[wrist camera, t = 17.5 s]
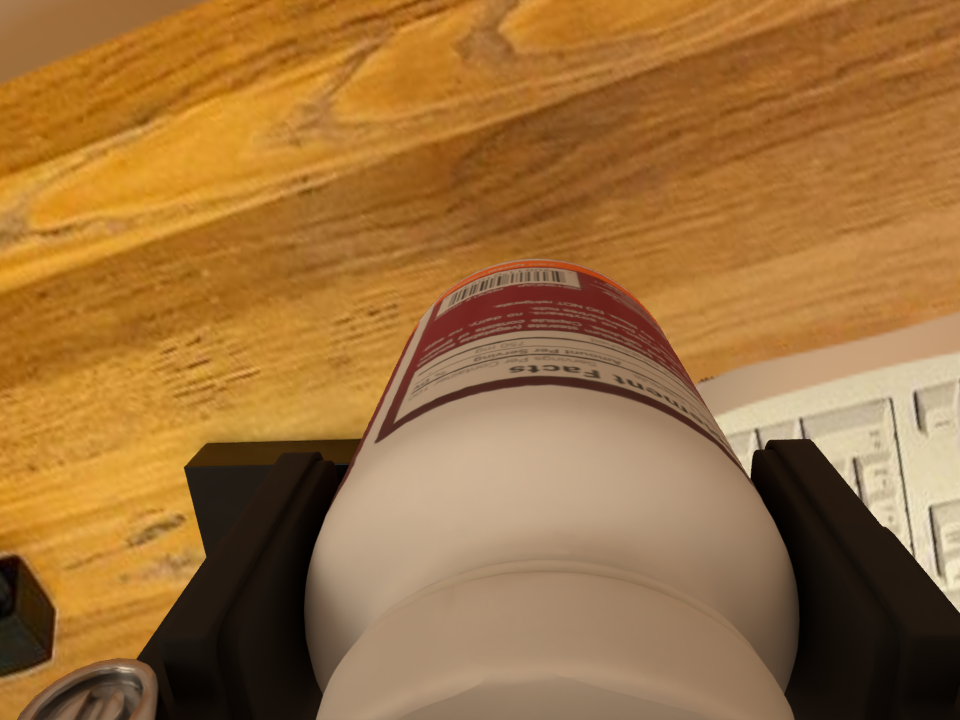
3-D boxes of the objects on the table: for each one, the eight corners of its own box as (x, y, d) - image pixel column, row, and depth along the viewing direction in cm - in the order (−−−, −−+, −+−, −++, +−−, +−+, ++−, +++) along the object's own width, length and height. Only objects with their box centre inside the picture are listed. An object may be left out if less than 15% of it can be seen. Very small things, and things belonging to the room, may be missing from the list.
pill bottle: (554, 538, 18) (588, 1161, 7) (355, 400, 17) (69, 898, 6) (729, 361, 16) (1116, 880, 5) (514, 191, 15) (478, 426, 4)
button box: (463, 436, 31) (454, 483, 27) (475, 582, 34) (468, 643, 30) (205, 443, 32) (162, 489, 28) (238, 584, 35) (203, 643, 31)
